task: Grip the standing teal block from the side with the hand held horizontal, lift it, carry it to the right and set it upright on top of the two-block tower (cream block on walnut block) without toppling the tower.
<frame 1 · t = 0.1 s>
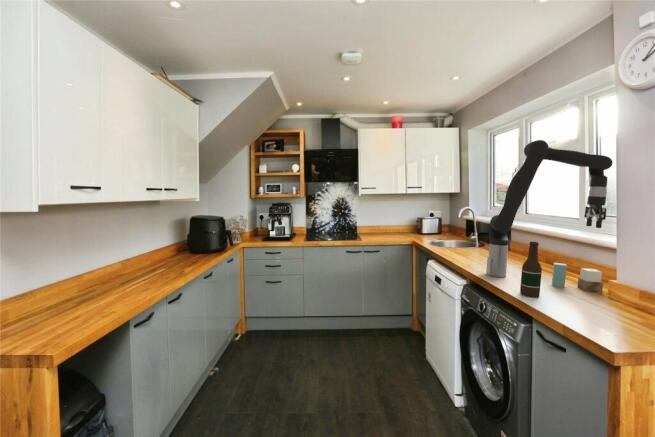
hand: (593, 227, 177), 29 cm above the worktop, tool pointing down, fingers open, 8 cm apart
teal block: (557, 285, 170), on the worktop
cream block: (590, 280, 164), point 5 cm above the worktop, touching walnut block
beer bottle: (529, 295, 152), on the worktop
walnut block: (589, 290, 164), on the worktop, touching cream block
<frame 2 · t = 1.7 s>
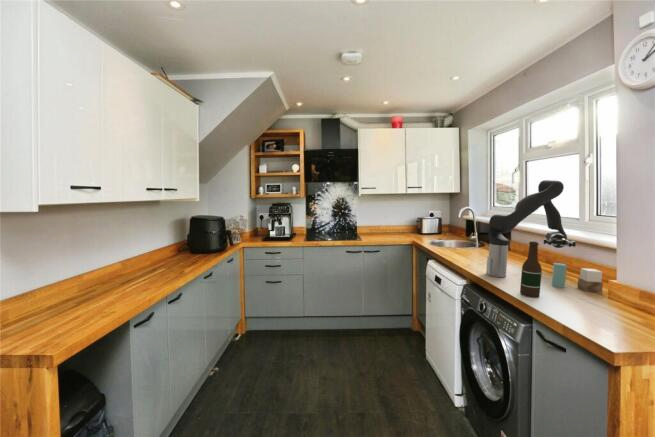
hand: (560, 244, 178), 20 cm above the worktop, tool horizontal, fingers open, 8 cm apart
nothing on the worktop moved.
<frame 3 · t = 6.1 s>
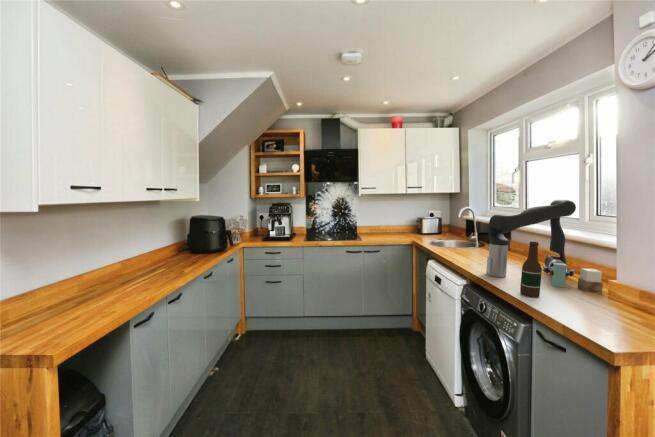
hand: (559, 273, 167), 7 cm above the worktop, tool horizontal, fingers closed on teal block, 5 cm apart
teal block: (558, 285, 170), on the worktop, touching gripper
everything else where it was.
when the fingers open (17 cm above the worktop, at t = 10.2 s): teal block stays where it is, resting on cream block.
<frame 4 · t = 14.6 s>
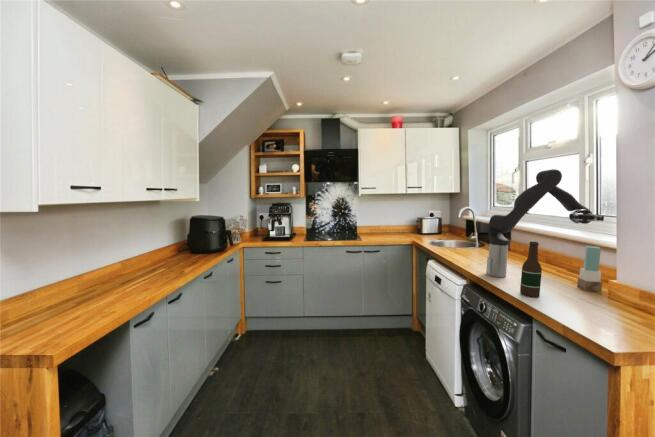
hand: (587, 218, 172), 34 cm above the worktop, tool horizontal, fingers open, 8 cm apart
teal block: (590, 269, 163), point 10 cm above the worktop, touching cream block
cream block: (589, 279, 164), point 5 cm above the worktop, touching teal block, walnut block
everything else where it was.
at the end: teal block 0.1 cm off-centre on the cream block, point 5.0 cm above the cream block's base; teal block tilted 0°; cream block moved 0.5 cm from its start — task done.
